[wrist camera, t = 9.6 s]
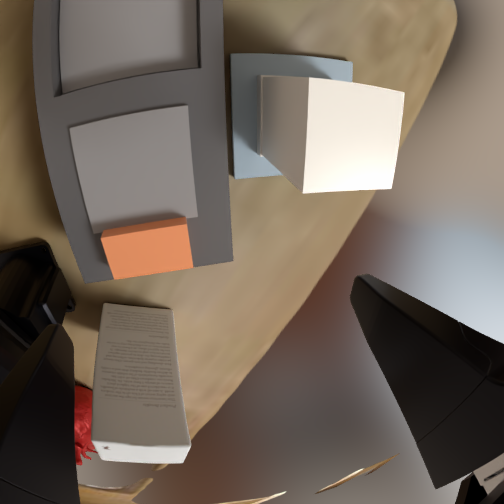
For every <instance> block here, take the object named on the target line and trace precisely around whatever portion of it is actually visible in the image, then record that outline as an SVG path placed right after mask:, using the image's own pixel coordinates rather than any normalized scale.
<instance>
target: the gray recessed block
mask: <svg viewBox="0 0 504 504" xmlns="http://www.w3.org/2000/svg"><path fill="white" fill-rule="evenodd" d="M33 72H34V86H35V96H36V105H37V113H38V120H39V126H40V132H41V138H42V143H43V149H44V154H45V158H46V163H47V167H48V172H49V176H50V180H51V184H52V188H53V191H54V195H55V199H56V202H57V206H58V209H59V212H60V216H61V219H62V222H63V225H64V228H65V231H66V234H67V237H68V240H69V243H70V246H71V248H72V251H73V254H74V256H75V259H76V262H77V264H78V267H79V269H80V272H81V274H82V277H83V279H84V282H85V284H86V283H92V282H99V281H106V280H113V279H114V280H116V279H122V278H129V277H136V276H142V275H149V274H156V273H162V272H169V271H175V270H182V269H188V268H193V267H198V266H205V265H211V264H218V263H224V262H231V261H233V248H232V232H231V214H230V196H229V176H228V155H227V132H226V106H225V76H224V38H223V0H34V10H33Z"/></svg>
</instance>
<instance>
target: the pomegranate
mask: <svg viewBox="0 0 504 504" xmlns="http://www.w3.org/2000/svg"><path fill="white" fill-rule="evenodd" d="M92 395H93V391H91V390H89V389H87V388H85V387H81V386H78V385H75V455H76V464H77V465H82V460H81V457H80V454H82V455H83V457H84V458H87V459H90V460H91V458H90V457H88V456H86V453H85V452H87V451H89V452H95V453H98V452H96V451H93V449H95V447H94V445H93V443H92V441H91V422H92Z"/></svg>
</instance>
